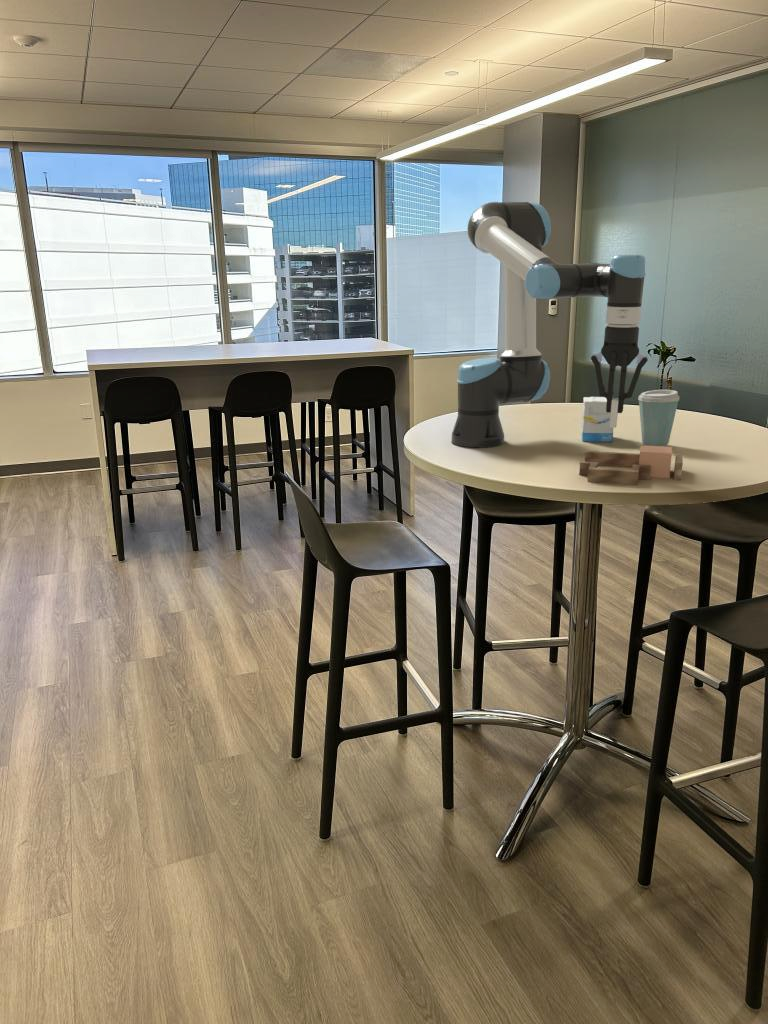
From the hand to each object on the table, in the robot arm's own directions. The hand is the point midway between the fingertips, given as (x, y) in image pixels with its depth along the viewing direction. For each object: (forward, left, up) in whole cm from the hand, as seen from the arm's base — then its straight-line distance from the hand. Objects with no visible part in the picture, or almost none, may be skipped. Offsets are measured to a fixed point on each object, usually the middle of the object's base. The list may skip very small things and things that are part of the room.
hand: (613, 426), depth 180 cm
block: (+10, -1, -11) cm, 15 cm away
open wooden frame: (+5, -3, -11) cm, 12 cm away
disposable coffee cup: (+9, +30, -11) cm, 34 cm away
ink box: (-7, +35, -11) cm, 38 cm away
